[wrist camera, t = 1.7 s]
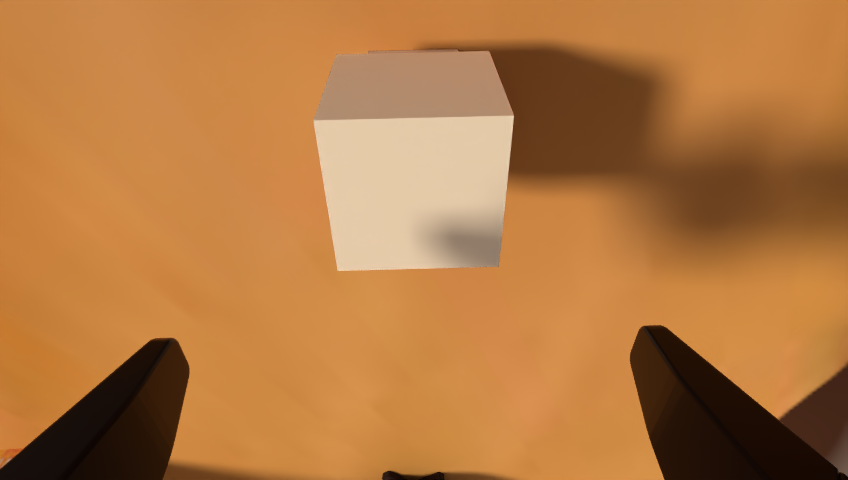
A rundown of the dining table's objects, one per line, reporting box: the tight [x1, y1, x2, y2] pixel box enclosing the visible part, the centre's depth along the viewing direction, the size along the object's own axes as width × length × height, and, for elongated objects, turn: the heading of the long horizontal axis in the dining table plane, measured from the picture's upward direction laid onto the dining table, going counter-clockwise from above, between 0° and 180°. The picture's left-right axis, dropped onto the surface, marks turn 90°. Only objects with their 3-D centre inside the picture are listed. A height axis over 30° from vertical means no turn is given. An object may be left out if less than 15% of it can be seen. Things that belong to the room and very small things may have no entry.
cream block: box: [313, 49, 514, 271], centre depth 17 cm, size 5×5×8 cm
